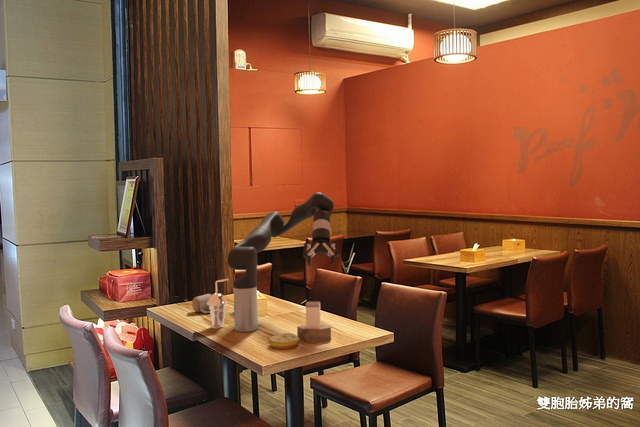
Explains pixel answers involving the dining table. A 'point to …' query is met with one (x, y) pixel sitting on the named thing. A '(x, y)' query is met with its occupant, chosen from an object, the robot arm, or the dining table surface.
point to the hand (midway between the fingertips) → (320, 265)
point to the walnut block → (314, 334)
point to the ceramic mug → (201, 303)
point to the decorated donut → (284, 341)
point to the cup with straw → (217, 307)
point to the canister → (313, 315)
